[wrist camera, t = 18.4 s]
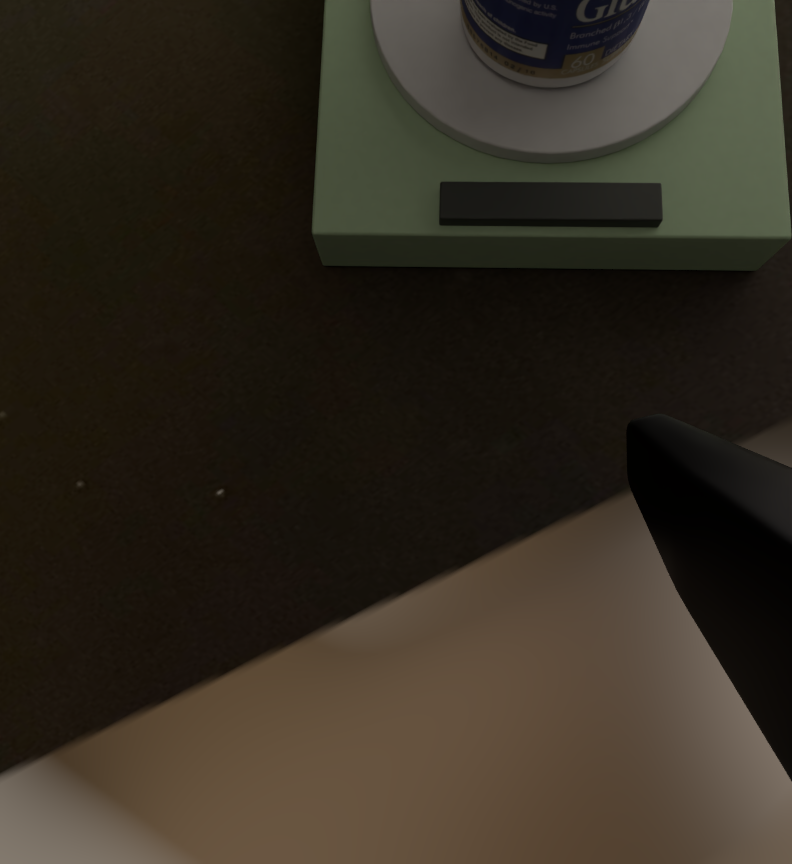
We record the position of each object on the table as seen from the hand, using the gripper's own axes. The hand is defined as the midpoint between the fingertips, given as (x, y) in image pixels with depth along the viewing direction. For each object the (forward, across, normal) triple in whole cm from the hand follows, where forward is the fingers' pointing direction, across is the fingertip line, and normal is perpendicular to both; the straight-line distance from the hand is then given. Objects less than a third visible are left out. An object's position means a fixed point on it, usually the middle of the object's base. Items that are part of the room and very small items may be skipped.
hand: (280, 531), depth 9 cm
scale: (+20, -9, -1) cm, 22 cm away
